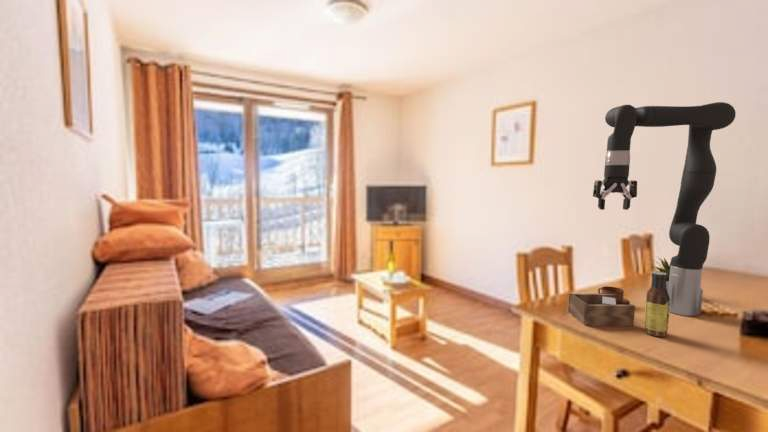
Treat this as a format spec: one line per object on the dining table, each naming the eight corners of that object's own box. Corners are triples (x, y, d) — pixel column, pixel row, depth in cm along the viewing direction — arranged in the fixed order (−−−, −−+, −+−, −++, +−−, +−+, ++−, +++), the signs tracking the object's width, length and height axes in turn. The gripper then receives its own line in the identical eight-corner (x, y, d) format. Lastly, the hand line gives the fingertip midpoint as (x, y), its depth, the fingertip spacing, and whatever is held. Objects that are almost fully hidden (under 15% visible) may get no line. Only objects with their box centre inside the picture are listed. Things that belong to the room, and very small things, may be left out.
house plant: (650, 285, 174) (653, 250, 172) (688, 292, 164) (692, 255, 162) (643, 293, 163) (646, 255, 161) (684, 300, 154) (688, 261, 152)
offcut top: (614, 307, 137) (615, 298, 137) (615, 315, 130) (616, 305, 130) (601, 305, 139) (602, 296, 139) (601, 312, 132) (602, 303, 132)
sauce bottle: (671, 338, 120) (677, 276, 117) (648, 336, 121) (654, 275, 119) (660, 330, 126) (666, 271, 124) (639, 328, 127) (644, 270, 125)
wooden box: (612, 312, 142) (613, 293, 141) (633, 325, 129) (635, 305, 128) (568, 311, 142) (569, 293, 141) (585, 325, 130) (586, 305, 129)
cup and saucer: (589, 303, 151) (590, 288, 150) (600, 297, 159) (601, 282, 158) (623, 312, 142) (624, 296, 141) (634, 305, 150) (635, 289, 149)
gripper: (630, 164, 139) (627, 208, 141) (591, 164, 139) (588, 208, 141) (644, 163, 132) (640, 210, 134) (602, 163, 132) (599, 210, 134)
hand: (613, 209), depth 138 cm, fingers open, 8 cm apart
